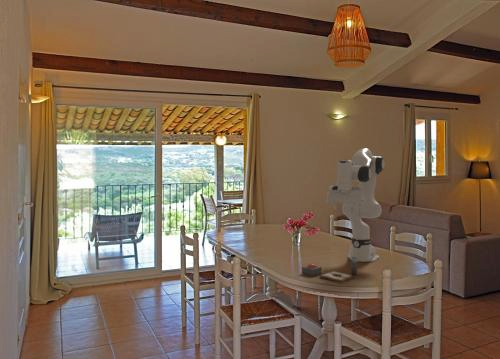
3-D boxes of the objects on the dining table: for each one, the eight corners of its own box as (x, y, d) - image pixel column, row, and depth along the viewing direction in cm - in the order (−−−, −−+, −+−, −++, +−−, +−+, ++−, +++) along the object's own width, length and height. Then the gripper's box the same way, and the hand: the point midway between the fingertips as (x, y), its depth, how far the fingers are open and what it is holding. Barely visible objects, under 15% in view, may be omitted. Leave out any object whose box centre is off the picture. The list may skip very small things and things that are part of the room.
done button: (310, 268, 251) (311, 263, 251) (316, 269, 249) (316, 264, 248) (306, 269, 248) (307, 264, 248) (312, 270, 246) (312, 265, 245)
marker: (352, 273, 249) (353, 256, 248) (358, 274, 247) (358, 257, 246) (349, 274, 247) (350, 257, 246) (355, 276, 244) (355, 258, 244)
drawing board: (332, 272, 250) (332, 270, 250) (354, 277, 241) (354, 275, 241) (319, 277, 240) (319, 275, 240) (341, 283, 231) (341, 280, 231)
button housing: (310, 271, 254) (310, 264, 254) (321, 273, 249) (321, 266, 249) (302, 273, 248) (302, 266, 248) (313, 276, 243) (313, 269, 243)
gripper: (360, 187, 255) (360, 210, 256) (326, 186, 256) (325, 209, 257) (363, 187, 249) (362, 211, 250) (327, 187, 250) (327, 210, 251)
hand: (343, 210), depth 253 cm, fingers open, 8 cm apart
